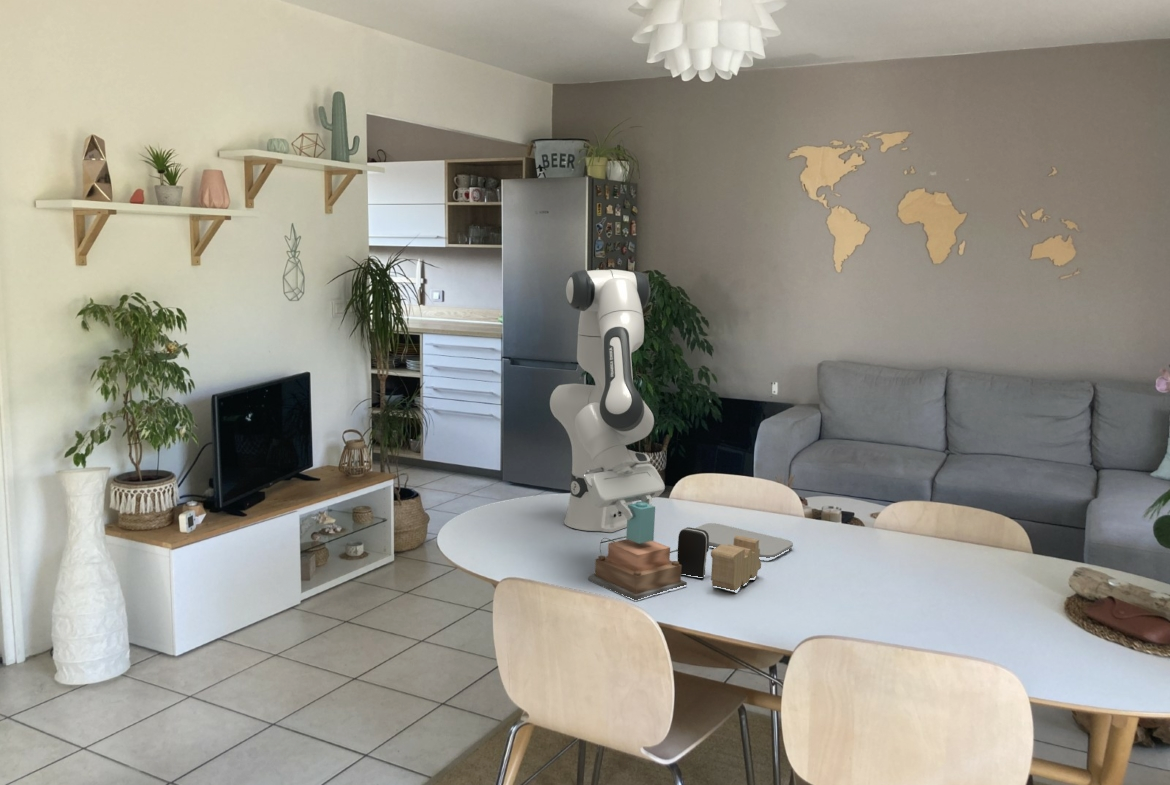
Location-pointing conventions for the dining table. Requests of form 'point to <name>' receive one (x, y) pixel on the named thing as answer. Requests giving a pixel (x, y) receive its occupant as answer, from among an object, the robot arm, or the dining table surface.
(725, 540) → the tablet
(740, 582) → the toy train
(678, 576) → the wooden stepped box
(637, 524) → the teal brick
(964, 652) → the dining table surface
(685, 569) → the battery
